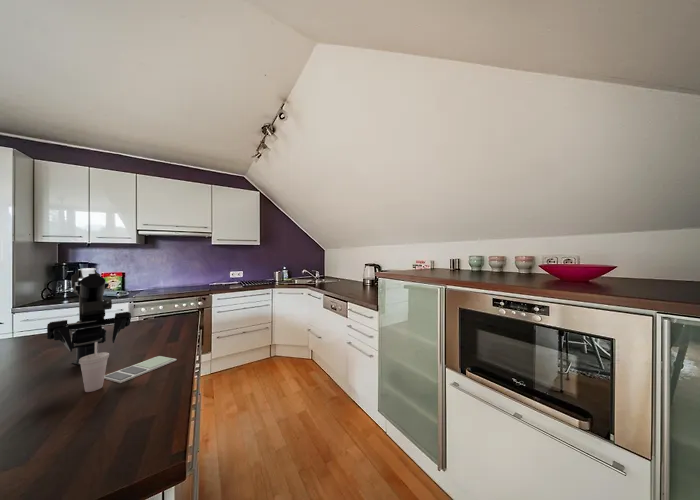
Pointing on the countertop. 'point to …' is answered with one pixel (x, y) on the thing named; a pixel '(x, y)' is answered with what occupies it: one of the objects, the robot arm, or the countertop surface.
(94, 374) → the smoothie
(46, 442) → the countertop surface
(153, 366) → the board
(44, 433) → the countertop surface
